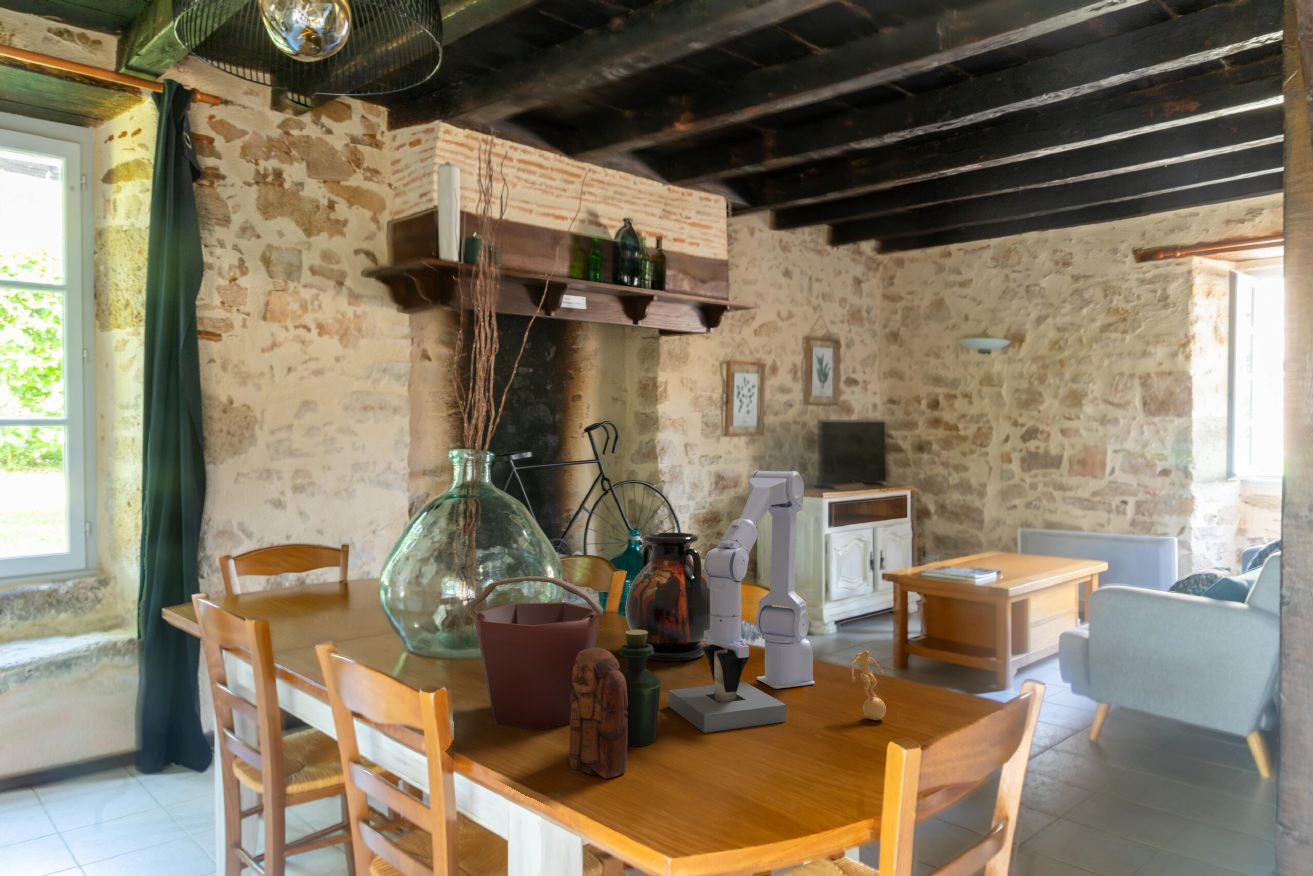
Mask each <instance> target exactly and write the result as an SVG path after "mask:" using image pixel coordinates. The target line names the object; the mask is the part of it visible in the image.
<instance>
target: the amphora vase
mask: <svg viewBox="0 0 1313 876" xmlns="http://www.w3.org/2000/svg"><path fill="white" fill-rule="evenodd" d="M643 540H644V542H646V543H648V544H646V545H645V546H644V549H643V551H642V556H641V570H640V572H639V573H638V574H637V575H636V576H635V578H634V579H633V580H632V583H631V585H630V587H629V589H628V593H627V594H626V595H627V596H626V601H625V608H624V609H625V620H626V622H627V625H628V628H629V629H630V630H645V631H648V634H647V640H646V643H647V644H651V645H652V647H653V650H654V654H652V655H650V656H648V658H647V660H653V661H660V662H682V661H690V660H694V659H698V658H699V657H701V656H703V655H704V654H705V653H704V651H703V647H705V646H706V645H705V643H704V642H703V641H704V631H706V630H710V589H709V588H708V586H707V578H706V575H705V573H703V572H702V568H703V567H702V566H703V565H702V557H701V556H700V554H699V551H697V550H696V549H695V548H691V545H693V544H695V543H696V542H698V541H699V537H698V536H697V535H696V534H693V533H688V532H687V533H686V532H655V533H653V532H652V533H648V534H646V535H644V536H643ZM651 552H652V555H651Z"/></svg>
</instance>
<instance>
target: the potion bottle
mask: <svg viewBox="0 0 1313 876" xmlns="http://www.w3.org/2000/svg"><path fill="white" fill-rule="evenodd" d="M647 634H648V631H645V630H626V631H625V637H626V642H627V643H623V644H622V645H621V646H620V649H619V653H618V654H620V656H624V657H625V661H626V664H627V669H626V670H624V671H622V672H621V673H622V674H623V676H624V678H625V680H626V686H627V698H628V708H627V710H626V711H627V712H628V715H627V716H626V717H627V721H628V733H627V741H628V742H627V747H628V746H629V747H644V746H648V745H651V744H653V743H654V742H655V741H656V740H657V733H658V719H659V708H660V697H661V695H660V694H661V679H659V676H658V675H657V674H654V673H653V672H651V671H650V670H649V669H646V667H647V661H648V656H650V655H652V654H654V650H653V647H652V645H651V644H647V643H646V640H647Z"/></svg>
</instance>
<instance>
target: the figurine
mask: <svg viewBox="0 0 1313 876" xmlns="http://www.w3.org/2000/svg"><path fill="white" fill-rule="evenodd" d="M871 662H873V664H874V665H875V667H876V668H878V669H879V670H880V671H881V673H882V674H883V675H885V673H884V670H883V669H882V667H881V666H880V664H878V662H877V661H876V660H875V658H873V657H870V653H869V651H868V650H865V651H863V652H858V653H856V654H855V658H854V660H853V661H852V662H851V663H850V665H849V667H850V673H851V681H852V683H856V679H857V677H855V676H854V675H855V671H854V666H855V665H856V664H857V665H858V667H859V668H860V670H861V672H860V674H859V676H860V677H861V678H862V681H863V682H864V683H865V684H866V685H864V686H863V687H864V691H865V694H866V696H867V699H866V700H865V701H864V703H863V705H862V710H863V713H864V716H866V717H867V718H868V719H870V720H872V721H879V720H881V719H883V718H884V717H885V715H886V712H887V707H886V704H885V701H883V700H882V699H881V698H880V697H879V696H878V695H877V694H876V693H875V691H874V688H875V687H876V686H877V684H878V680H877V678H876V677H875V675H874V674H873V671H872V670H871V669H870V664H871ZM871 682H872V684H871ZM869 688H870V689H869ZM868 690H870V693H871V695H872V696H871V695H870V693H869V691H868Z"/></svg>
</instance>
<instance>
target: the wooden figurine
mask: <svg viewBox="0 0 1313 876" xmlns="http://www.w3.org/2000/svg"><path fill="white" fill-rule="evenodd" d="M620 668H621V666H620V663H619V660H618V659H617V658H616V657H615V655H614V654H613V653H611V652H610V651H608V649H607V650H606V649H605V648H601V647H595V648H588V649H585V650H583V651H581V652H579V653H578V655H577V657H576V660H575V665H574V667H573V677H572V681H573V686H574V689H573V691H572V694H571V697H570V708H571V712H570V724H569V757H568V758H569V765H570V767H571V769H573V770H574V771H575V770H576V771H578V770H579V771H581V772H582V773H586V774H587V775H589V776H596V775H599V776H600V777H602V778H603V779H613V778H614V777H619V776H620V775H622V774H624V773H626V771H627V760H628V758H627V757H628V745H627V742H628V741H627V733H628V721H627V717H626V716H627V715H628V712H627V711H626V710H627V708H628V698H627V686H626V680H625V678H624V676H623V674H622V672H621V671H620V670H619V669H620Z"/></svg>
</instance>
